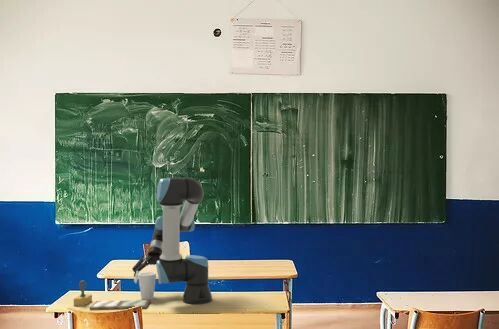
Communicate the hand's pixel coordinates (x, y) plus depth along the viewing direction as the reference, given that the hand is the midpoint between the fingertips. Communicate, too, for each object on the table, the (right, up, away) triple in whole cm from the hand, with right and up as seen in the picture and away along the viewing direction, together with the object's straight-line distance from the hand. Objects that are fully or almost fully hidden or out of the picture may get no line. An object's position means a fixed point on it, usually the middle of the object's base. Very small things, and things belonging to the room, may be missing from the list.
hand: (147, 282), depth 297 cm
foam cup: (0, -8, -1) cm, 8 cm away
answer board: (-10, -8, -17) cm, 21 cm away
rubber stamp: (-31, -9, -10) cm, 34 cm away
